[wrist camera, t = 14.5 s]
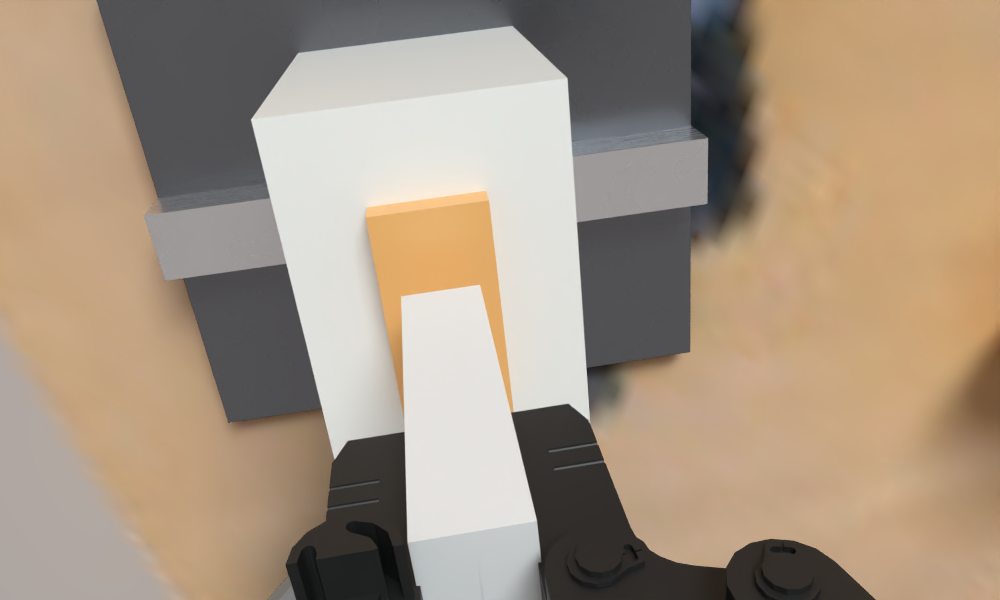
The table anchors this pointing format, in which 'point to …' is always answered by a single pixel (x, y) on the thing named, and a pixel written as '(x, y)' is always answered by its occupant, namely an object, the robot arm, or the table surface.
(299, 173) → the block
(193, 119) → the mounting plate
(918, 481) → the table surface
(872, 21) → the table surface
